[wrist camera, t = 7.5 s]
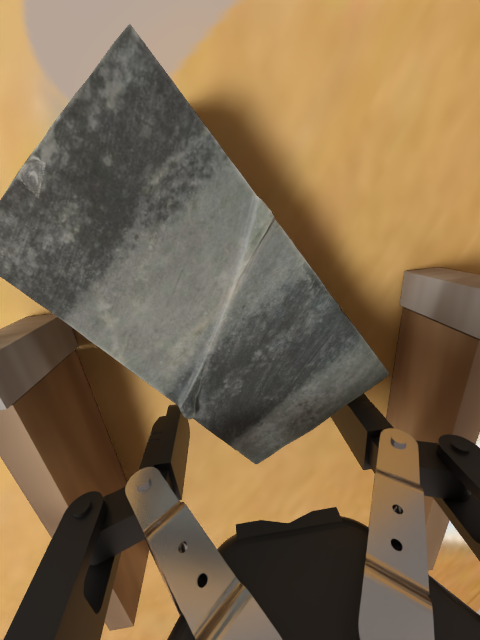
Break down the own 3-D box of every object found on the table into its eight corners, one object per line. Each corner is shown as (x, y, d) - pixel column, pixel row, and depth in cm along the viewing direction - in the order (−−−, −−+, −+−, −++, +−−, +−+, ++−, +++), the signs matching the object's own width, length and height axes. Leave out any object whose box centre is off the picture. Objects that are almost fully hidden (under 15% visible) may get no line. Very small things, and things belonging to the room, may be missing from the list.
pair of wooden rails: (438, 267, 14) (551, 287, 9) (392, 501, 21) (442, 578, 17) (26, 316, 13) (-85, 369, 8) (129, 546, 20) (102, 643, 15)
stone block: (234, 415, 17) (240, 492, 12) (40, 252, 12) (-80, 271, 7) (341, 333, 15) (400, 384, 10) (167, 109, 10) (123, 9, 6)
